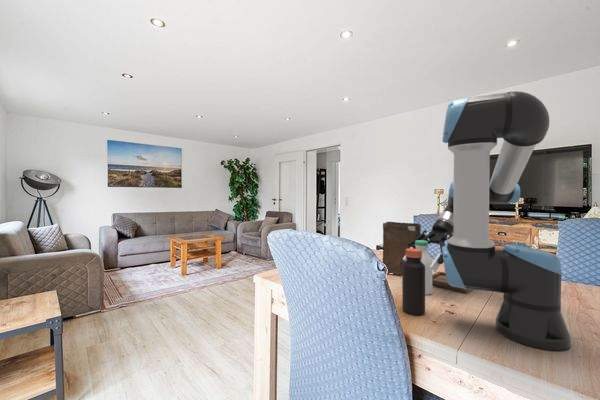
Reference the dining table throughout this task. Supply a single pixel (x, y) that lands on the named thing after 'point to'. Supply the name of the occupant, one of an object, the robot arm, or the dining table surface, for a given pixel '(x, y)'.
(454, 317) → the dining table surface
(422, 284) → the vinegar
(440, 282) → the walnut tray
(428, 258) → the milk bottle
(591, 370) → the dining table surface
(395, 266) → the book
